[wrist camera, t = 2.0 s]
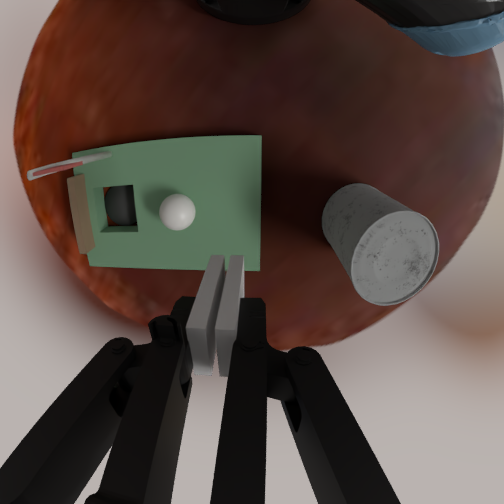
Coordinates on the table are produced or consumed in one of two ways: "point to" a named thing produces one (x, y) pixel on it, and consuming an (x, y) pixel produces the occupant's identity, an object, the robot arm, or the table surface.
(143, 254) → the green
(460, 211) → the table surface
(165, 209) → the ball
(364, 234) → the grey can
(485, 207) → the table surface
